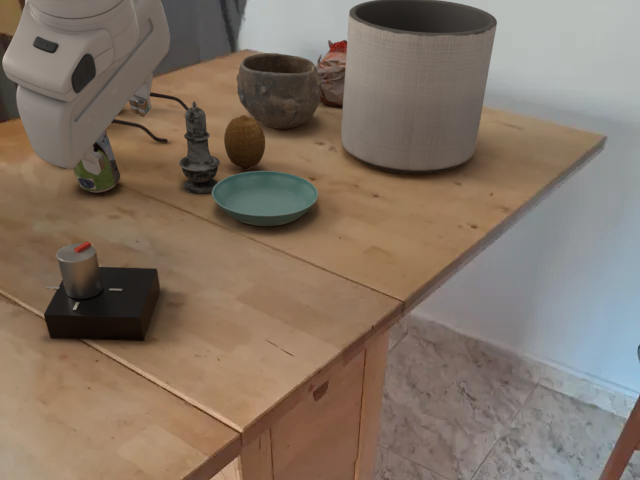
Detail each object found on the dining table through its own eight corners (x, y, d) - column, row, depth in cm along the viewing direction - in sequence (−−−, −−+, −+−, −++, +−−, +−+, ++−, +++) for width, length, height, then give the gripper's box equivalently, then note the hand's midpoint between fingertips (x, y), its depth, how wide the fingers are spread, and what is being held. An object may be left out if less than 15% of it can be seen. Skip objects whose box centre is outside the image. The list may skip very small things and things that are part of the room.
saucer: (336, 220, 95) (337, 202, 93) (240, 243, 90) (239, 224, 88) (287, 180, 104) (287, 163, 103) (197, 198, 99) (195, 180, 97)
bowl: (292, 145, 115) (292, 81, 108) (219, 125, 120) (215, 62, 113) (335, 121, 123) (337, 60, 117) (264, 103, 129) (263, 44, 122)
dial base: (39, 337, 73) (32, 313, 71) (65, 287, 81) (59, 263, 78) (144, 341, 73) (139, 316, 71) (160, 290, 81) (156, 267, 79)
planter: (411, 119, 126) (426, -8, 112) (501, 160, 113) (530, 22, 99) (314, 143, 116) (317, 6, 102) (400, 191, 103) (417, 42, 89)
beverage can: (130, 185, 101) (116, 100, 93) (92, 203, 97) (74, 114, 88) (100, 174, 104) (84, 90, 95) (62, 191, 99) (42, 103, 91)
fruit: (236, 157, 110) (234, 105, 105) (272, 164, 109) (271, 111, 103) (218, 172, 106) (215, 118, 100) (255, 179, 104) (253, 125, 99)
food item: (353, 111, 128) (357, 52, 121) (311, 107, 129) (312, 48, 122) (363, 88, 137) (367, 33, 131) (324, 84, 138) (326, 29, 132)
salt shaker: (228, 182, 103) (223, 98, 95) (208, 197, 99) (200, 111, 91) (195, 174, 105) (187, 91, 97) (173, 189, 101) (163, 103, 93)
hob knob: (85, 303, 73) (75, 263, 70) (57, 292, 74) (46, 252, 71) (111, 286, 76) (103, 246, 72) (83, 276, 77) (74, 236, 74)
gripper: (116, -58, 66) (143, 69, 78) (-12, 75, 58) (41, 193, 70) (174, -38, 65) (192, 88, 78) (53, 100, 57) (94, 215, 70)
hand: (119, 139), depth 74 cm, fingers open, 8 cm apart
